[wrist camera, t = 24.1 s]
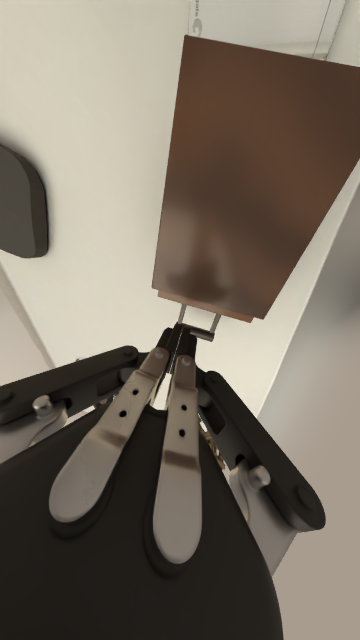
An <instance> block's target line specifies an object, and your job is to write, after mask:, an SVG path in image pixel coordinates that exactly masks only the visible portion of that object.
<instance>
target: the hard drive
mask: <svg viewBox="0 0 360 640" xmlns="http://www.w3.org/2000/svg"><path fill="white" fill-rule="evenodd" d="M345 2H346V0H190V12H189V27H188V35H190V36H195V37H201V38H206V39H211V40H217V41H222V42H227V43H233V44H238V45H243V46H249V47H254V48H259V49H265V50H270V51H275V52H281V53H286V54H291V55H296V56H302V57H307V58H312V59H318V60H323V61H324V59H325V58H326V56H327V54H328V52H329V49H330V47H331V44H332V41H333V38H334V35H335V32H336V29H337V26H338V23H339V20H340V17H341V14H342V11H343V8H344V5H345Z"/></svg>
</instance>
